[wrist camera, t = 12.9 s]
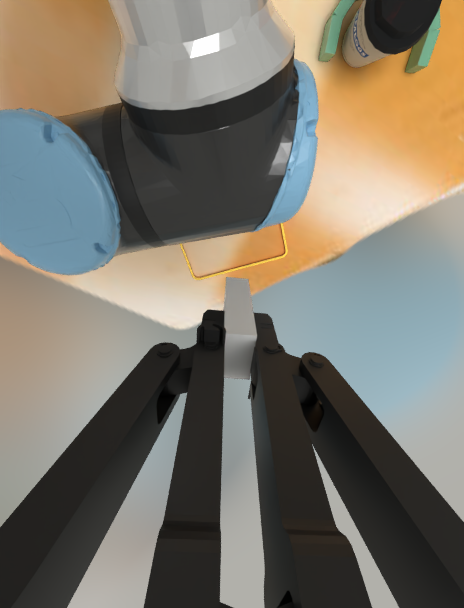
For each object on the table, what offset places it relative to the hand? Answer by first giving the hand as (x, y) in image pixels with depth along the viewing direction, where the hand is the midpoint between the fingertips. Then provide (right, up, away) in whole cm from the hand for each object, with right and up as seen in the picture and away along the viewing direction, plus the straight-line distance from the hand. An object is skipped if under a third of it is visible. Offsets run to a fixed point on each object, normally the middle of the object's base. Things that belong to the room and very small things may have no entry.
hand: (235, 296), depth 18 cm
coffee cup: (+16, +31, +13) cm, 37 cm away
